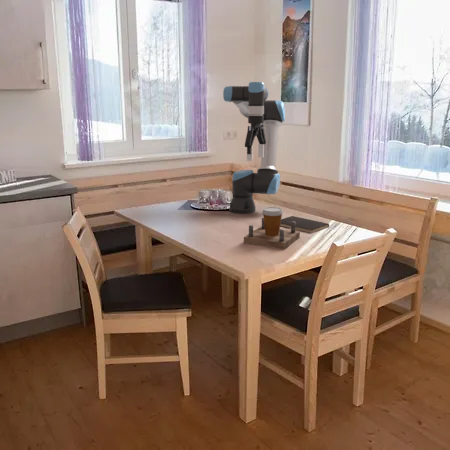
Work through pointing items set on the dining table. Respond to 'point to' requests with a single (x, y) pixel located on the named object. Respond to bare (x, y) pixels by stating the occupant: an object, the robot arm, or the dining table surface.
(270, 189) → the robot arm
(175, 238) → the dining table surface
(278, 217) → the disposable coffee cup
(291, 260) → the dining table surface
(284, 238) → the peg board
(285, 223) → the hardcover book
